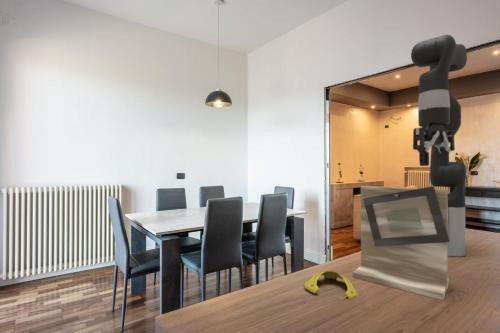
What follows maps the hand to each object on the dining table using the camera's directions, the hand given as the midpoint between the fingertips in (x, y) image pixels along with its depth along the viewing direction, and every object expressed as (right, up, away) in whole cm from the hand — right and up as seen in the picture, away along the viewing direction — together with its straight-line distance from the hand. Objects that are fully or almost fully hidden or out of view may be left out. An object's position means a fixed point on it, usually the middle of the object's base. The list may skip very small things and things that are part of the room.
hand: (434, 166), depth 80 cm
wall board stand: (-10, -32, 0) cm, 34 cm away
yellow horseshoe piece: (-30, -33, -3) cm, 45 cm away
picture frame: (-9, -21, -4) cm, 23 cm away
